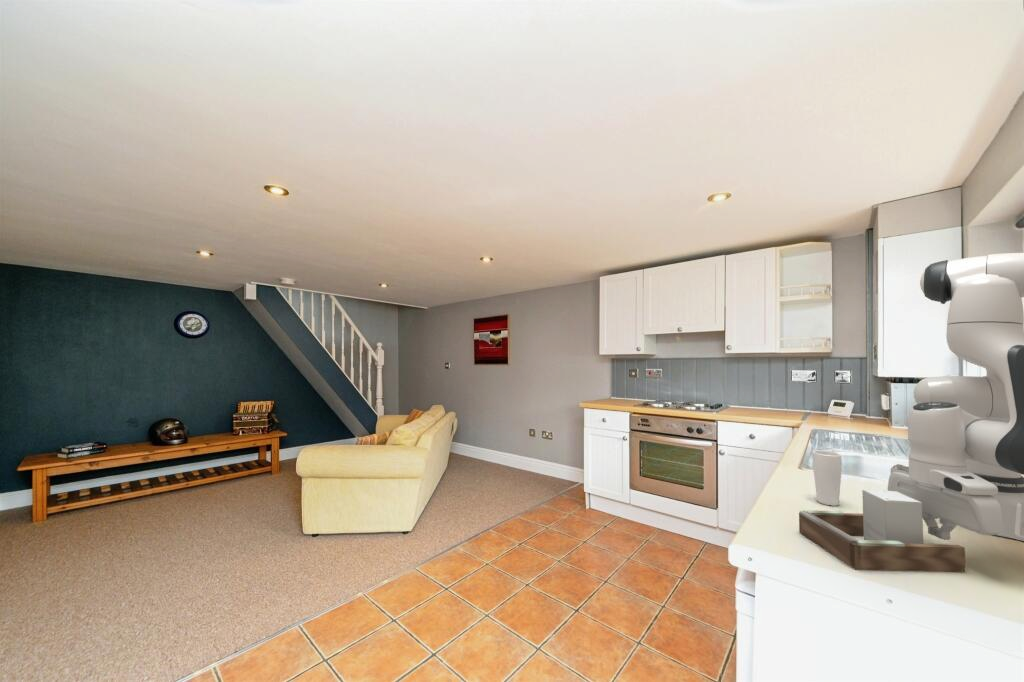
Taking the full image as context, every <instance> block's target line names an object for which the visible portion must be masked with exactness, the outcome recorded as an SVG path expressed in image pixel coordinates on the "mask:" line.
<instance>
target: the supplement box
mask: <svg viewBox="0 0 1024 682" xmlns="http://www.w3.org/2000/svg"><path fill="white" fill-rule="evenodd" d="M861 491H862V492H861V493H862V514H863V526H864V536H863V540H884V541H900V542H902V543H904V544H924V526H923V521H924V519H923V518H922V502H920V501H917V500H915V499H913V498H910V497H908V496H906V495H903V494H901V493H899V492H897V491H888V490H883V489H882V490H881V489H879V490H878V489H877V490H876V489H862V490H861Z"/></svg>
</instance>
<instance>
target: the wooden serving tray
mask: <svg viewBox="0 0 1024 682" xmlns="http://www.w3.org/2000/svg"><path fill="white" fill-rule="evenodd" d="M798 522H799V523H798V525H799V526H798V529H799V530H798V531H799V534H801V535H802V536H804V537H805V538H807V539H809V540H810V541H811V542H813V543H814V544H816V545H817V546H819V547H820V548H822V549H824V550H825V551H827V552H828V553H829V554H832V556H834V557H836V559H837V558H838V559H839V560H840V561H842V562H843V563H845V564H847V565H848V566H849V567H851V568H852V569H854V570H855V571H856V570H858V571H860V570H861V571H862V570H864V571H899V572H900V571H901V572H904V571H905V572H942V573H943V572H944V573H966V572H967V571H966V547H964V546H962V545H960V544H947V543H945V544H942V543H923V544H904V543H902V542H900V541H884V540H864V539H857V538H855V537H864V526H863V513H855V512H854V513H853V512H852V513H851V512H849V513H848V512H847V513H846V512H843V511H841V510H809V509H808V510H807V509H806V510H799V512H798Z"/></svg>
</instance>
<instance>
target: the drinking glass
mask: <svg viewBox="0 0 1024 682" xmlns="http://www.w3.org/2000/svg"><path fill="white" fill-rule="evenodd" d="M812 469H813V470H812V471H813V477H814V485H815V496H816V497H815V499H816V501H817V502H818V503H819V504H822V505H824V506H825V505H826V506H829V505H831V507H838V506H839V505H840V497H841V495H840V494H841V483H842V472H843V470H842V469H843V465H842V455H841V454H840V453H838V452H835V451H830V450H820V449H819V450H813V451H812Z"/></svg>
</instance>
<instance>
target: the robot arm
mask: <svg viewBox="0 0 1024 682" xmlns="http://www.w3.org/2000/svg"><path fill="white" fill-rule="evenodd" d="M919 286H920V289H921V292H922V293H923V295H924V297H925V298H926V299H928V300H930V301H932V302H933V301H934V302H938V303H940V305H941V304H942V305H945V304H946V303H947V302H950V303H949V307H948V314H947V319H946V320H947V321H946V332H945V333H946V337H945V338H946V342H947V343H946V344H947V346H948V348H949V351H951V353H953V354H954V355H956V356H957V357H958V358H959V359H961V360H963V361H966V362H968V364H973V365H974V366H975V365H976V366H978V367H982V368H984V369H985V371H986V375H983V376H969V375H968V376H966V375H964V376H963V375H960V376H959V375H944V376H942V375H941V376H933V377H931V376H930V377H925V378H923V379H921V380H919V382H917V383H916V385H914V389H913V398H914V401H915V403H916V404H915V405H913V406H912V407H911V408H910V411H909V415H908V417H907V418H908V419H907V440H908V442H909V445H910V451H909V452H908V453H909V454H908V466H905V465H904V464H900V463H898V464H895V465H893V466H892V467H891V468H890V475H889V477H888V482H887V483H888V484H887V491H897V492H899V493H901V494H903V495H906V496H908V497H910V498H913V499H915V500H917V501H920V502H922V519H923V521H924V523H925V524H926V526H927V533H928V534H929V535H931V536H933V537H936V538H938V539H941V540H943V541H949V540H951V532H952V531H953V530H954V529H955V528H956V527H957V526H959V527H961V528H963V529H967V530H969V531H972V532H975V533H977V534H980V535H983V536H997V537H998V536H999V537H1005V538H1009V539H1015V540H1018V541H1021V542H1022V541H1023V542H1024V477H1023V476H1022V475H1024V307H1023V306H1024V305H1023V300H1022V298H1024V252H1008V253H1007V252H1005V253H1002V252H1001V253H992V254H991V253H990V254H988V255H980V256H979V255H978V256H972V257H971V256H970V257H966V258H965V257H964V258H958V259H953V260H948V259H945V260H941V261H937V262H936V261H935V262H933V263H930V264H929V265H928V266H927V267H925V269H924V272H923V273H922V274H921V277H920V280H919ZM997 420H1001V421H997ZM1002 420H1003V421H1002ZM1006 421H1009V422H1006ZM937 519H938V520H939V524H941V526H940V527H939V525H938V522H937V521H936V520H937Z"/></svg>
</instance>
